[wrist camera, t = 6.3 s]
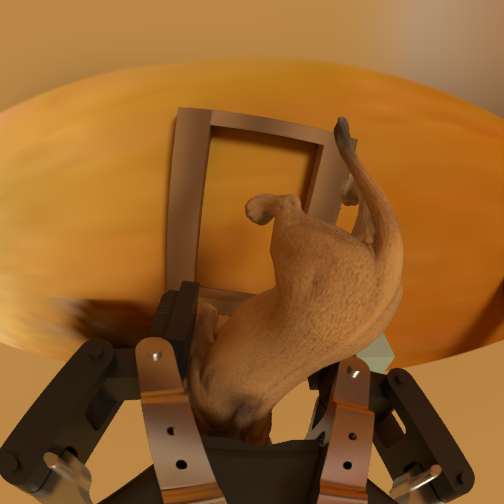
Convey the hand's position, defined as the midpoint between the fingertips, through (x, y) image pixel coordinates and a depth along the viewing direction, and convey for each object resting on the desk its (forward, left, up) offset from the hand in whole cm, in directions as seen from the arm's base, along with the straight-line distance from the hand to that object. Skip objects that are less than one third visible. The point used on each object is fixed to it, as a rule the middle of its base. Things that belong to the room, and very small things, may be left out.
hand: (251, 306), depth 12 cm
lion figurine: (-1, -1, -1) cm, 2 cm away
